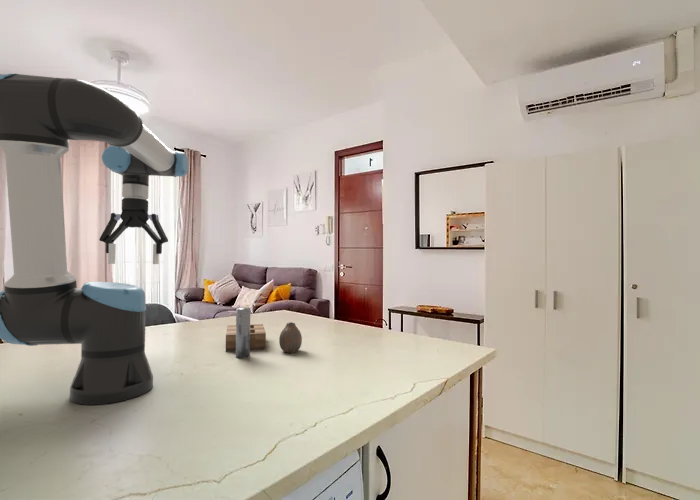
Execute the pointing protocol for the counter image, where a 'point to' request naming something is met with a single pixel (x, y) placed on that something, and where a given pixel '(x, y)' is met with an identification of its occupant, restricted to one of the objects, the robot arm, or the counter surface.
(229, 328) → the bore block
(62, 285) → the robot arm
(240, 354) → the steel pin
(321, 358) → the counter surface
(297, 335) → the vase
